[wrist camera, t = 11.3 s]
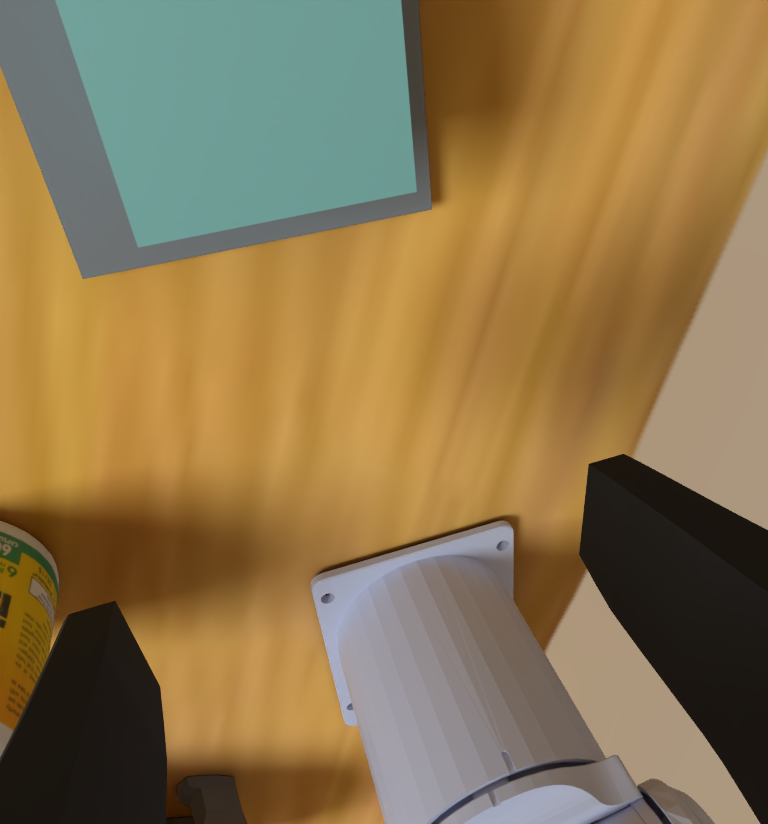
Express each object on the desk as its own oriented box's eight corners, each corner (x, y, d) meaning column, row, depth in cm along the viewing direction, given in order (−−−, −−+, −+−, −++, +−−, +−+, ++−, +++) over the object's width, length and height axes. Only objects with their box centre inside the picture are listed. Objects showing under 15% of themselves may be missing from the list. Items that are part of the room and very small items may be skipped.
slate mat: (424, 203, 18) (431, 209, 18) (85, 270, 16) (82, 278, 16) (392, -253, 13) (401, -261, 12) (-103, -220, 11) (-115, -229, 11)
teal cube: (350, 141, 16) (416, 192, 12) (142, 179, 15) (137, 247, 11) (316, -120, 13) (387, -170, 9) (58, -91, 12) (11, -132, 8)
